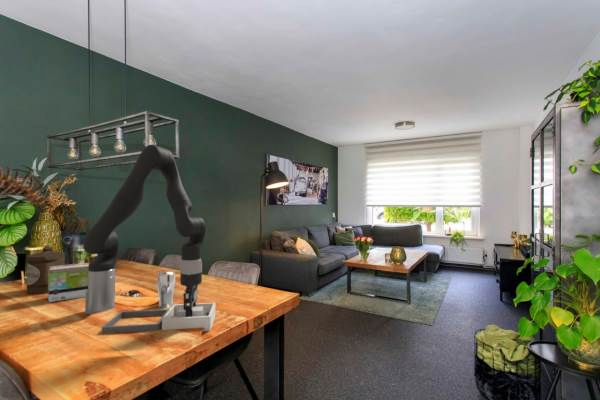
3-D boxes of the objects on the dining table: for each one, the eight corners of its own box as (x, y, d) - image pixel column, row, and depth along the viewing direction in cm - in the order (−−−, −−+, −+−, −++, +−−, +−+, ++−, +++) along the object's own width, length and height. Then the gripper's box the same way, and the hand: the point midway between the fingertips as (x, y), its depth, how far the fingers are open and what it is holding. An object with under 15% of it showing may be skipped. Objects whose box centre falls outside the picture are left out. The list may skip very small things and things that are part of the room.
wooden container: (24, 290, 149) (25, 246, 149) (61, 284, 160) (62, 243, 161) (29, 296, 139) (29, 249, 140) (68, 289, 151) (68, 246, 151)
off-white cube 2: (190, 322, 108) (190, 311, 108) (192, 317, 112) (192, 306, 112) (201, 321, 108) (201, 310, 108) (203, 316, 112) (203, 306, 112)
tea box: (48, 303, 130) (49, 269, 130) (47, 297, 138) (48, 266, 138) (90, 296, 140) (90, 265, 140) (87, 291, 148) (87, 261, 148)
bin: (161, 333, 101) (162, 319, 101) (173, 317, 116) (173, 304, 116) (210, 330, 104) (210, 316, 104) (215, 315, 118) (215, 302, 118)
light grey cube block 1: (177, 322, 107) (177, 311, 107) (179, 318, 111) (179, 307, 111) (188, 322, 108) (188, 311, 108) (190, 317, 112) (190, 306, 112)
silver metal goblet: (153, 310, 123) (153, 274, 123) (165, 304, 130) (166, 270, 130) (166, 312, 121) (166, 275, 121) (178, 306, 127) (179, 271, 127)
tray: (101, 337, 98) (102, 327, 98) (121, 320, 113) (121, 311, 113) (158, 334, 101) (158, 324, 101) (169, 317, 115) (170, 309, 115)
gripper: (185, 267, 116) (184, 309, 116) (175, 276, 102) (175, 324, 102) (204, 266, 118) (204, 308, 117) (198, 275, 103) (197, 323, 103)
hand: (190, 315), depth 110 cm, fingers open, 6 cm apart
